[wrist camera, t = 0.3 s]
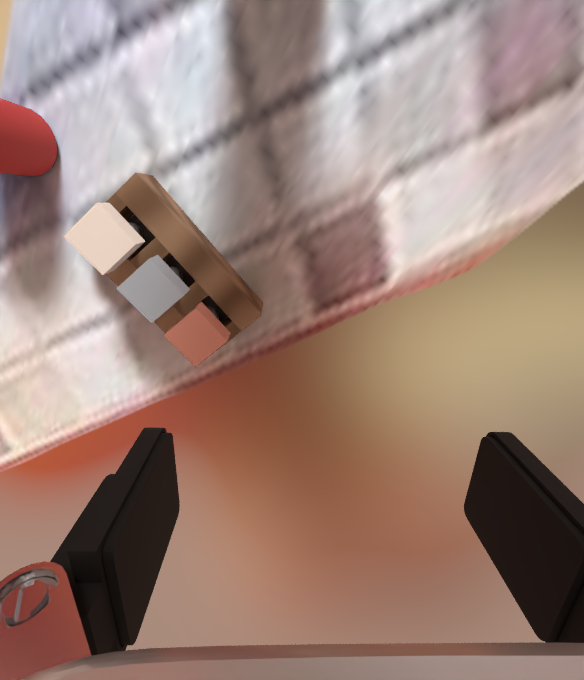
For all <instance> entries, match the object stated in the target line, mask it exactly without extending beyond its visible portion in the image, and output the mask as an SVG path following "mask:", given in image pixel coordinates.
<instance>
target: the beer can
mask: <svg viewBox="0 0 584 680" xmlns="http://www.w3.org/2000/svg"><path fill="white" fill-rule="evenodd" d="M56 158H57V144H56V139H55V136H54V134H53V132H52V130H51V128H50V126H49V125H48V124H47V123H46V122H45V120H44V119H43V118H42V117H41V116H40V115H38V114H37V113H35V112H34V111H32V110H31V109H28V108H25V107H23V106H20V105H17V104H14V103H12V102H9V101H6V100H3V99H1V98H0V173H5V174H15V175H25V176H39V175H41V174H44V173H46V172H47V171H48V170H49V169H50V168H51V167H52V166H53V165H54V162H55V160H56Z"/></svg>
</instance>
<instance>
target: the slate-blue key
mask: <svg viewBox="0 0 584 680" xmlns="http://www.w3.org/2000/svg"><path fill="white" fill-rule="evenodd" d="M182 280H183V275H182V272H181V271H180V270H179V269H178V268H176V267H169V266H168V265H167V264H166V263H165V262H164V261H163V260H162V259H161V258H160V256H159V255H156V256H154V257H151V258H149V259H148V260H147V261H146V262H145V263H144V264H143V265H142V266H140V267H139V268H138V269H137V270H136V271H135V272H134V273H133V274H132V275H131V276H130V277H128V278H127V279H126V280H125V281H124V282H123V283H122V284H121V285H120V286H119V287H117V288H116V289H117V290H118V291H119V292H120V293H121V294H122V295H123V296H124V297H125V298H126V299H127V300H128V301H129V302H130V303H131V304H132V305H133V306H134V307H135V308H136V309H137V310H138V311H139V312H140V313H141V314H142V315H143V316H144V317H145V318H146V319H147V320H148V321H149V322H150V323H153V322H154V321H155V320H156V319H157V318H158V317H160V316H161V315H162V314H163V313H164V312H165V311H167V310H168V309H169V308H170V307H171V306H172V305H174V304H175V303H176V302H177V301H178V300H179V299H181V298H182V297H183V296H184V295H185V294H186V293H187V292H188V291H189V290H190V289H189V288H188V287H187V285H186V284H185V283H184V282H183V281H182Z"/></svg>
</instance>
